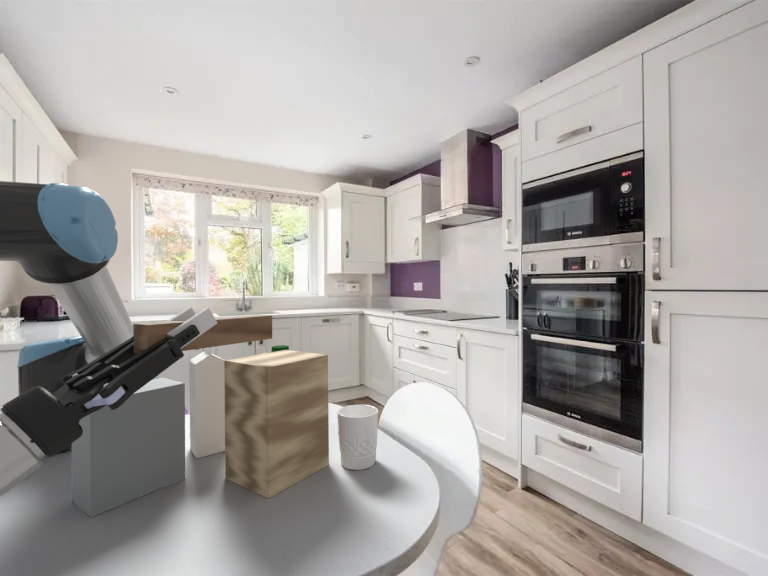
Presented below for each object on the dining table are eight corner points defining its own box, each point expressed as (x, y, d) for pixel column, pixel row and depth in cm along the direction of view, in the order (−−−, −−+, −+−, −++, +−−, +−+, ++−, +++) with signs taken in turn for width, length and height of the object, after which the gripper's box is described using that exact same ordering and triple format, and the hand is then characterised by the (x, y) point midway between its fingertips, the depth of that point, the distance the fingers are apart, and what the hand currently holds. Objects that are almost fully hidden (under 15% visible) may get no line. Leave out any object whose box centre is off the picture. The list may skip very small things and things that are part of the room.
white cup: (345, 475, 68) (344, 419, 68) (333, 457, 75) (332, 407, 75) (385, 466, 71) (384, 413, 71) (369, 450, 78) (369, 402, 78)
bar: (133, 353, 51) (133, 323, 51) (257, 337, 67) (257, 314, 68) (147, 355, 49) (147, 325, 49) (272, 338, 65) (272, 315, 65)
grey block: (71, 500, 60) (71, 394, 60) (163, 466, 72) (162, 377, 72) (90, 517, 56) (90, 402, 56) (185, 478, 67) (184, 383, 67)
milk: (195, 459, 75) (194, 348, 75) (190, 448, 80) (188, 345, 80) (227, 450, 79) (226, 345, 79) (220, 441, 84) (218, 342, 84)
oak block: (225, 478, 67) (224, 360, 67) (286, 450, 79) (285, 349, 79) (268, 498, 60) (267, 367, 60) (328, 464, 72) (327, 354, 72)
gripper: (20, 426, 34) (224, 293, 51) (-22, 397, 43) (162, 294, 60) (72, 481, 37) (248, 338, 54) (22, 442, 47) (185, 332, 63)
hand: (202, 315), depth 57 cm, fingers closed on bar, 4 cm apart
